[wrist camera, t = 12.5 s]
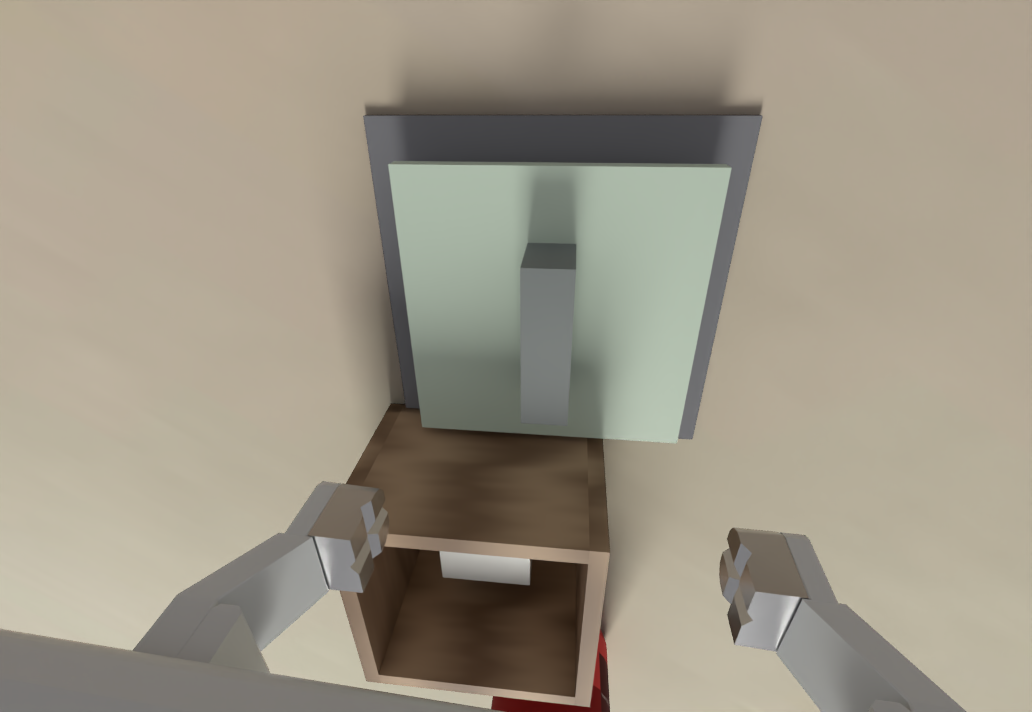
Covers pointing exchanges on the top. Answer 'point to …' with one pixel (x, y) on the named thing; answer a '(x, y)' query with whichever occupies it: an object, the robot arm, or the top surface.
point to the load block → (486, 568)
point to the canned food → (599, 706)
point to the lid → (556, 292)
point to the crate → (484, 531)
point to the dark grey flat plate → (566, 144)
